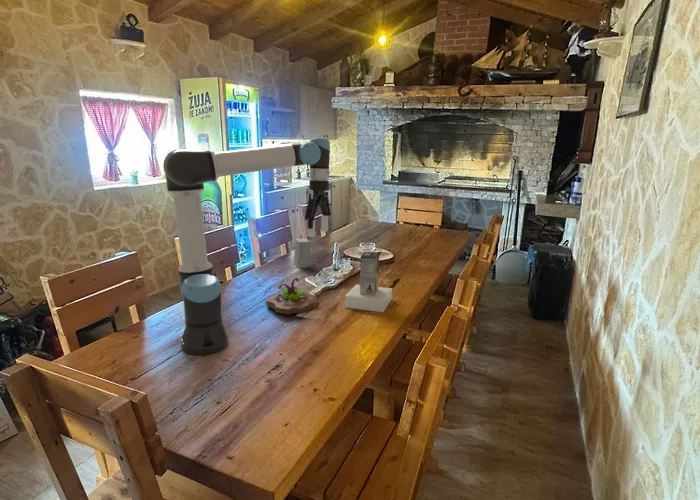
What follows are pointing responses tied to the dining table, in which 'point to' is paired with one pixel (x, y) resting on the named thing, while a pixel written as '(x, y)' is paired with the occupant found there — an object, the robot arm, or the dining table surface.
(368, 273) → the coffee box
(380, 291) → the riser
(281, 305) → the plant
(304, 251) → the skincare box
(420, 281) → the dining table surface
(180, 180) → the robot arm
